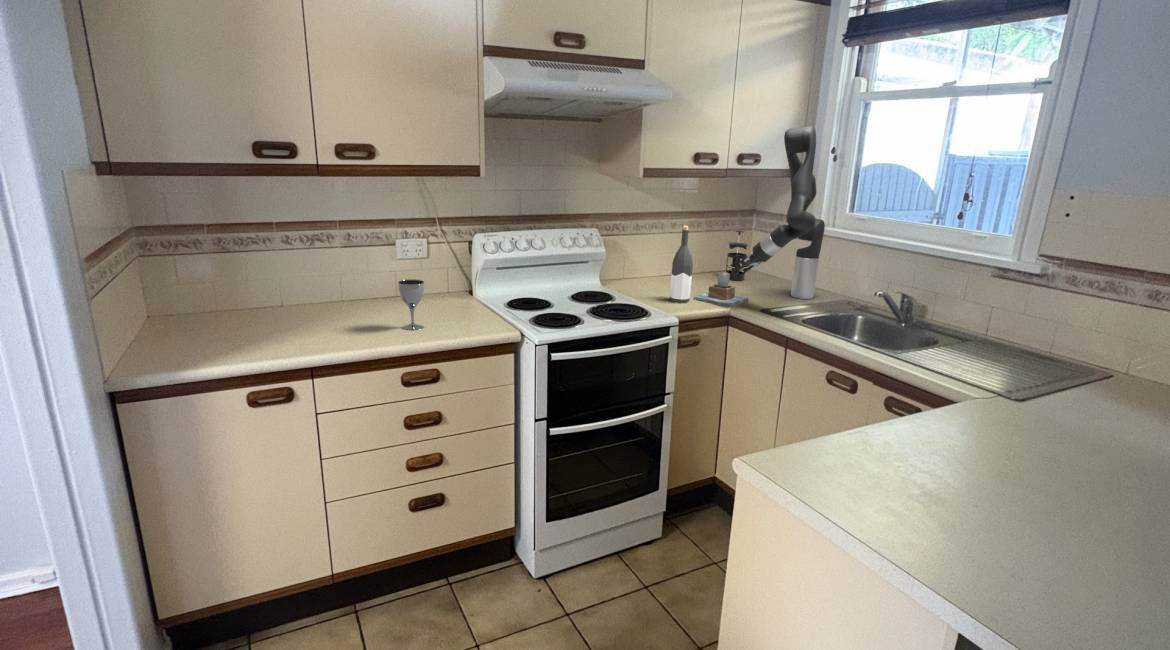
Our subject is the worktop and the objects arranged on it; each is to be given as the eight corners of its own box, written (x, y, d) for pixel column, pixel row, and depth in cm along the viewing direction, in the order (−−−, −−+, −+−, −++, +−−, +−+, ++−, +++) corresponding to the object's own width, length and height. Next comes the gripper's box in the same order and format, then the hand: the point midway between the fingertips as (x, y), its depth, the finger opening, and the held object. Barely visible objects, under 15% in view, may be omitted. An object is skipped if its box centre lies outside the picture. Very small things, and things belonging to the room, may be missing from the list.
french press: (746, 282, 294) (752, 232, 288) (726, 280, 295) (731, 231, 289) (742, 276, 306) (747, 229, 299) (722, 275, 306) (727, 228, 300)
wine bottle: (688, 298, 257) (694, 225, 249) (690, 303, 250) (697, 227, 241) (668, 297, 258) (674, 224, 249) (670, 302, 250) (676, 227, 241)
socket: (714, 293, 268) (715, 280, 267) (748, 300, 258) (749, 287, 256) (693, 299, 257) (694, 285, 256) (727, 307, 247) (729, 292, 245)
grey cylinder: (719, 295, 260) (722, 271, 257) (729, 297, 257) (731, 273, 254) (713, 296, 257) (716, 272, 254) (723, 299, 254) (725, 274, 251)
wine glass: (395, 326, 204) (393, 281, 200) (416, 322, 210) (415, 278, 206) (408, 332, 199) (407, 285, 195) (430, 327, 205) (429, 282, 200)
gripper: (771, 238, 245) (742, 262, 256) (753, 241, 235) (723, 266, 246) (782, 253, 243) (752, 277, 254) (764, 257, 233) (733, 282, 244)
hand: (738, 272), depth 250 cm, fingers open, 8 cm apart
